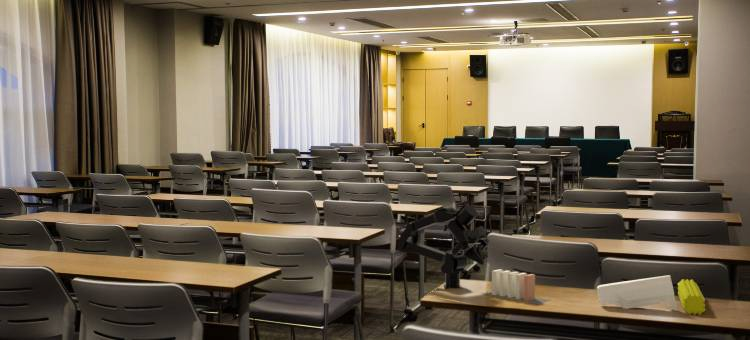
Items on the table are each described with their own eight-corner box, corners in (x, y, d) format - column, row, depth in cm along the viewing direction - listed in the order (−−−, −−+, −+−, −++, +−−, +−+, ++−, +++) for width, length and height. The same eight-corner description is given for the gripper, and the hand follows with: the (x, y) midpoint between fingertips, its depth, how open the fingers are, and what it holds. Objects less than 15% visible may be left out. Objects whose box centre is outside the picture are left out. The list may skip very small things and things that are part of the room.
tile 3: (507, 297, 284) (507, 273, 283) (514, 295, 288) (515, 271, 287) (511, 297, 283) (511, 273, 282) (518, 295, 287) (518, 272, 286)
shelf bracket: (678, 312, 264) (671, 276, 264) (604, 322, 270) (597, 287, 270) (675, 309, 269) (668, 274, 269) (603, 319, 275) (596, 285, 275)
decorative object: (696, 297, 290) (697, 278, 289) (706, 317, 258) (706, 296, 258) (676, 295, 292) (676, 277, 292) (683, 315, 260) (683, 295, 260)
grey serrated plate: (482, 295, 289) (482, 294, 289) (495, 292, 296) (495, 290, 296) (538, 305, 273) (538, 303, 273) (551, 301, 279) (551, 300, 279)
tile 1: (491, 294, 289) (492, 270, 288) (499, 292, 292) (499, 269, 292) (495, 295, 288) (495, 271, 287) (502, 293, 291) (502, 269, 291)
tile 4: (515, 298, 282) (516, 274, 281) (522, 296, 285) (523, 272, 285) (519, 299, 280) (519, 274, 280) (526, 297, 284) (526, 273, 284)
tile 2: (499, 295, 286) (499, 272, 286) (506, 293, 290) (507, 270, 290) (502, 296, 285) (503, 272, 285) (510, 294, 289) (510, 270, 288)
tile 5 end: (523, 300, 279) (524, 275, 279) (531, 298, 283) (531, 273, 282) (527, 300, 278) (527, 276, 278) (534, 298, 282) (535, 274, 281)
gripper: (458, 221, 290) (482, 253, 283) (486, 218, 303) (509, 248, 297) (441, 240, 295) (464, 272, 288) (469, 235, 309) (492, 266, 302)
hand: (483, 264), depth 294 cm, fingers closed
